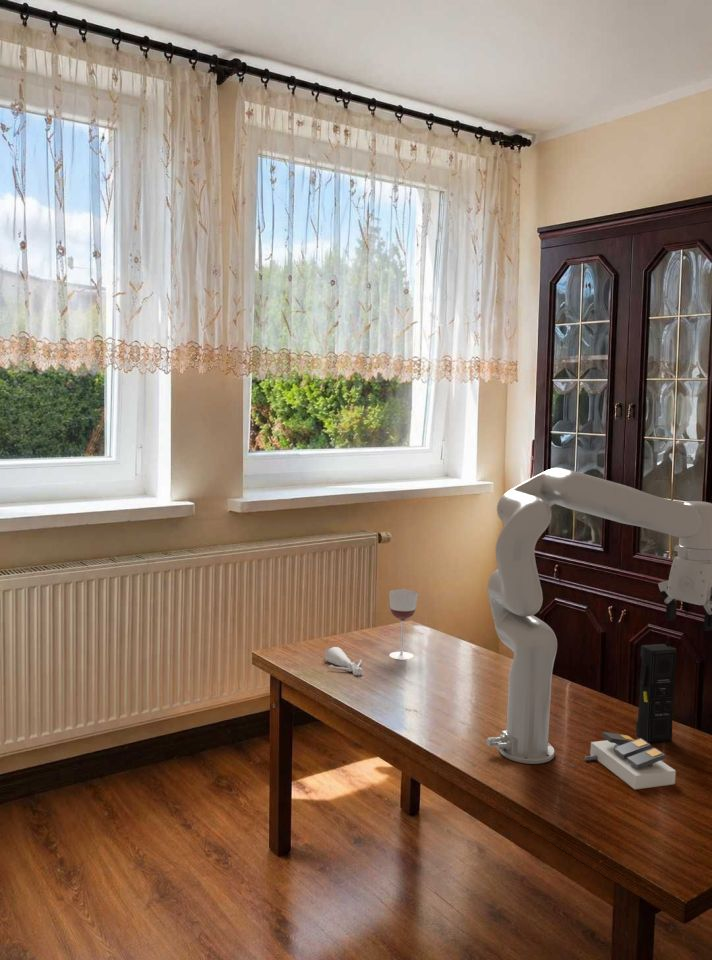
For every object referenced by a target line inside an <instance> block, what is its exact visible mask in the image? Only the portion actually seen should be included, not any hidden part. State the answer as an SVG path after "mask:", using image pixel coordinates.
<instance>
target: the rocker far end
mask: <svg viewBox="0 0 712 960" xmlns="http://www.w3.org/2000/svg"><path fill="white" fill-rule="evenodd" d="M627 759H628V762H629V763H630V764H632V765H633V766H634V767H636V768H637V769H639V768H642V767H645V766H649V767H652V766H653V763H655V762H658V761H663V760H666V754H665V753H664V752H662V751H661V750H659V749H658V748H656V747H651V749H649V750H646V751H643V752H641V753H638V754H635V755H633V756H630V757H627Z"/></svg>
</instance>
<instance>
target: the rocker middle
mask: <svg viewBox="0 0 712 960" xmlns="http://www.w3.org/2000/svg"><path fill="white" fill-rule="evenodd" d="M651 745H652V744H651V743H648V742H646V741H645V740H643V739H642V738H640V737H638V738H637V739H634V741H631V742H628V743H625V744H623V745H620V746H617V747H614V752H615V753H617V754H618V755H619V756H621V757H622V758H624V759H625V758H627V757H630V756H633V755H635V754H638V753H641V752H643V751H646V750H649V749H652V747H651Z"/></svg>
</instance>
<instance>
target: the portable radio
mask: <svg viewBox="0 0 712 960" xmlns="http://www.w3.org/2000/svg"><path fill="white" fill-rule="evenodd" d="M666 637H667V640H666V643H665V644H664V643H660V644H659V643H655V644H643V645H641V647H640V657H641V664H640V665H641V667H640V673H639V674H640V675H639V681H638V686H639V700H638V714H637V715H638V716H637V721H636V723H635V734H636V736H638V738H641V739H643V740H644V741H646V742H647V743H649V744H652V743H661V742H671V741H672V740H673V719H674V718H673V717H674V716H673V715H674V699H675V697H674V695H675V684H676V683H675V680H676V665H677V648H675V647H673V646H670V635H667V636H666Z"/></svg>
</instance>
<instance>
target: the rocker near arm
mask: <svg viewBox="0 0 712 960" xmlns="http://www.w3.org/2000/svg"><path fill="white" fill-rule="evenodd" d="M601 737H602V738H604V739H605V741H606V740H608V741H609V742H610V743H615V744H617V745H618V746H620V745H623V744H625V743H628V742H631V741H634V740H635V739H634V738H632V737H631V736H629V735H627V734H621V733H613V732H606V731H602V733H601Z"/></svg>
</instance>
